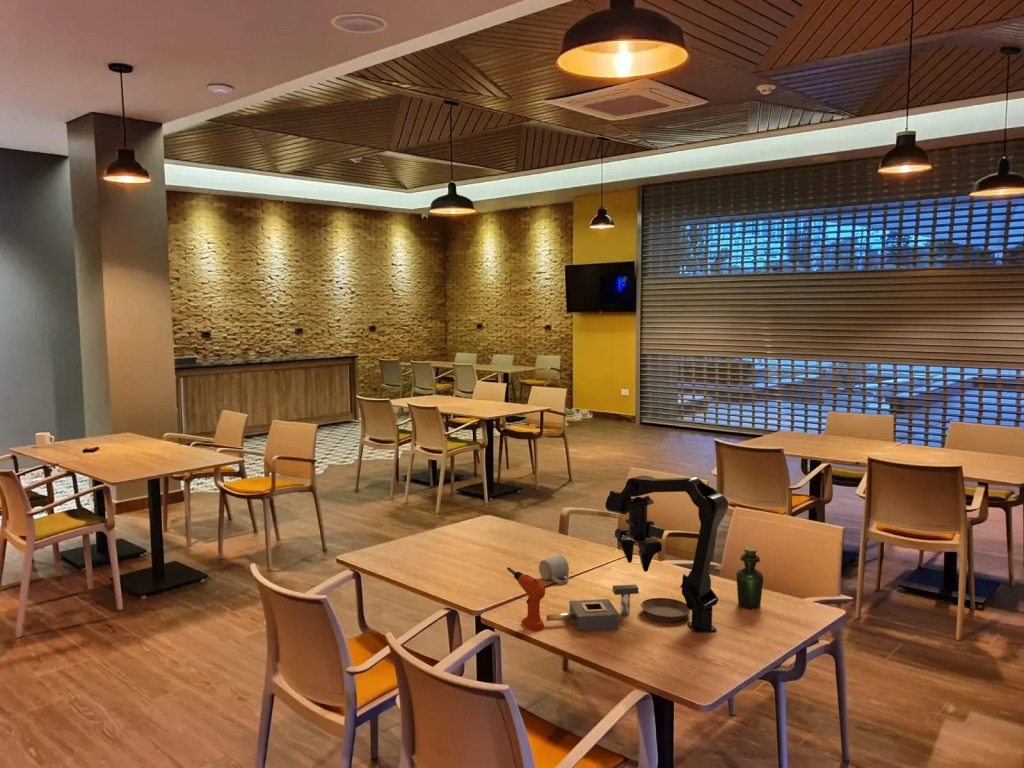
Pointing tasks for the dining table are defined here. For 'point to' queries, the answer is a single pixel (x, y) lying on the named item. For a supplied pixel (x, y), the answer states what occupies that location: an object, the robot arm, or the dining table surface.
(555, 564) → the ceramic mug
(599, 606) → the block
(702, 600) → the robot arm
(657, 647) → the dining table surface
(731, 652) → the dining table surface
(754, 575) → the potion bottle
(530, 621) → the toy drill
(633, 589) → the block
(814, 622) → the dining table surface
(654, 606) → the saucer
